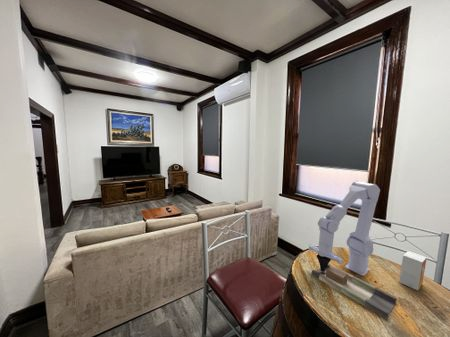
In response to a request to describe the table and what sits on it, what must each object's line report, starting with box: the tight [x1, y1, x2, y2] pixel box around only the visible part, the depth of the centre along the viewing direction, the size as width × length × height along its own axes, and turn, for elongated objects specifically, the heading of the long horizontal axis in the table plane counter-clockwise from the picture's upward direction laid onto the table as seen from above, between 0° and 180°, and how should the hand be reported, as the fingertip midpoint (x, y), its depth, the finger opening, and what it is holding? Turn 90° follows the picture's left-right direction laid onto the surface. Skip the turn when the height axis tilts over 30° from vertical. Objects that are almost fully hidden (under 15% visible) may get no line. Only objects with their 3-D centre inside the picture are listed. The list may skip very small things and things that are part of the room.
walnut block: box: [326, 264, 348, 286], centre depth 82 cm, size 5×7×4 cm
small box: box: [398, 250, 427, 291], centre depth 83 cm, size 8×6×13 cm
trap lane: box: [311, 263, 398, 320], centre depth 78 cm, size 13×27×2 cm, turn 36°
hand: (322, 270), depth 87 cm, fingers closed
